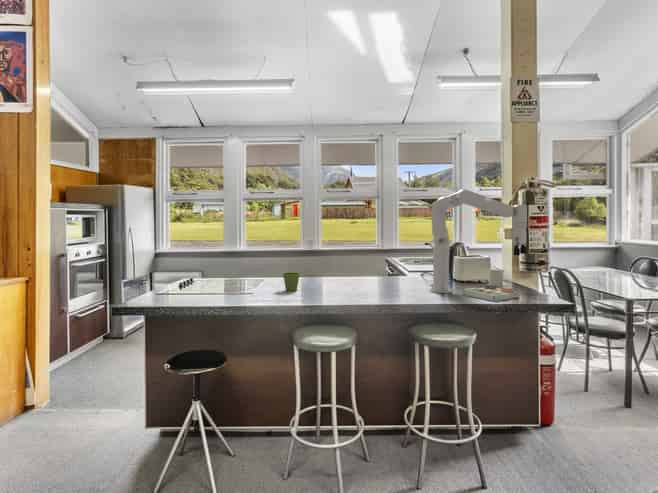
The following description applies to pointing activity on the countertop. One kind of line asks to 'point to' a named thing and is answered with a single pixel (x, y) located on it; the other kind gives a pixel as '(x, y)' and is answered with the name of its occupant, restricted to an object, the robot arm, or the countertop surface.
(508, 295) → the birch plate
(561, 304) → the countertop surface
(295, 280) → the plant pot
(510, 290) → the terracotta tile
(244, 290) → the countertop surface
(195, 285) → the countertop surface
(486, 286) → the charcoal tile
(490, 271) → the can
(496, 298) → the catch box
